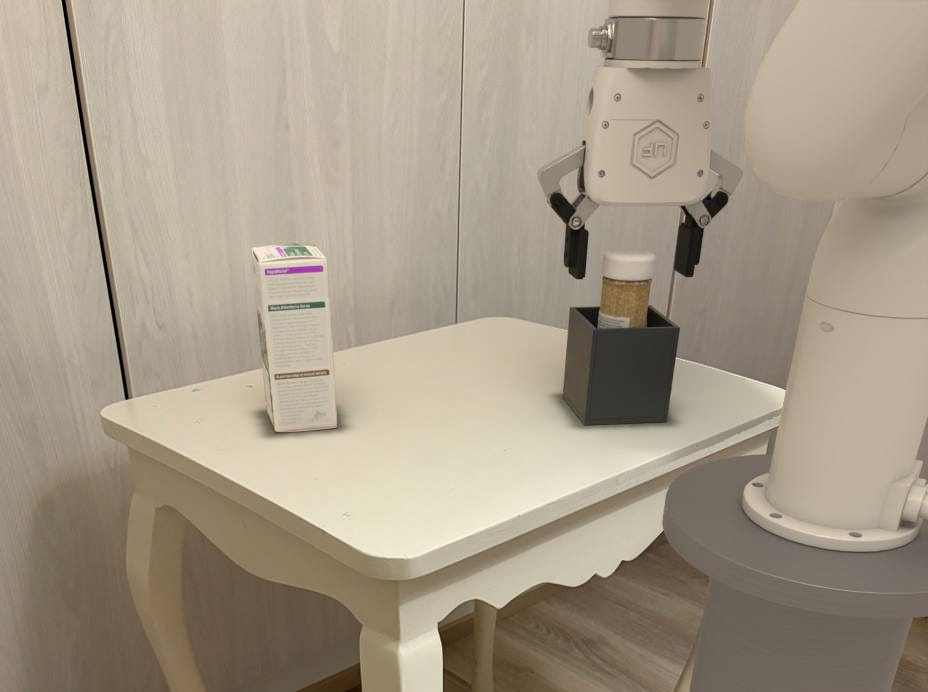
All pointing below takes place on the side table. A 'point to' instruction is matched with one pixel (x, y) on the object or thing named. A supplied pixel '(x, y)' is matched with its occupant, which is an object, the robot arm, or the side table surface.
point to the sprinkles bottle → (625, 288)
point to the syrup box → (295, 336)
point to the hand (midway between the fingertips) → (630, 275)
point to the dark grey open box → (619, 368)
